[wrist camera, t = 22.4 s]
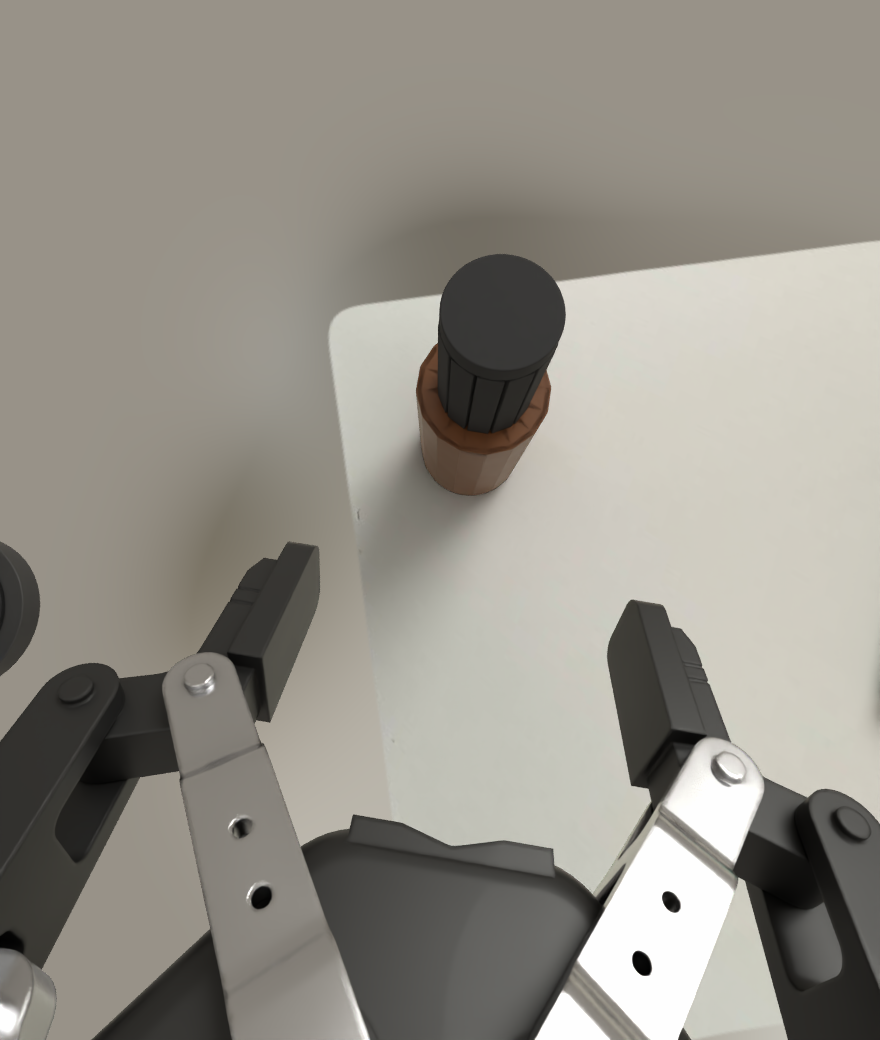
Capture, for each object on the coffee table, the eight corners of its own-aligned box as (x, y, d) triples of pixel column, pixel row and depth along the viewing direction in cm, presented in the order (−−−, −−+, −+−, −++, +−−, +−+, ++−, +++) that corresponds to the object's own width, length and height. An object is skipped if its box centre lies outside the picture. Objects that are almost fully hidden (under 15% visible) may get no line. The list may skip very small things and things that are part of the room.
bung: (523, 440, 29) (557, 380, 21) (431, 425, 29) (429, 360, 21) (536, 352, 30) (573, 263, 22) (446, 338, 30) (450, 244, 22)
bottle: (509, 502, 40) (568, 428, 23) (415, 487, 41) (399, 401, 23) (523, 412, 42) (588, 272, 24) (430, 397, 42) (427, 247, 24)
